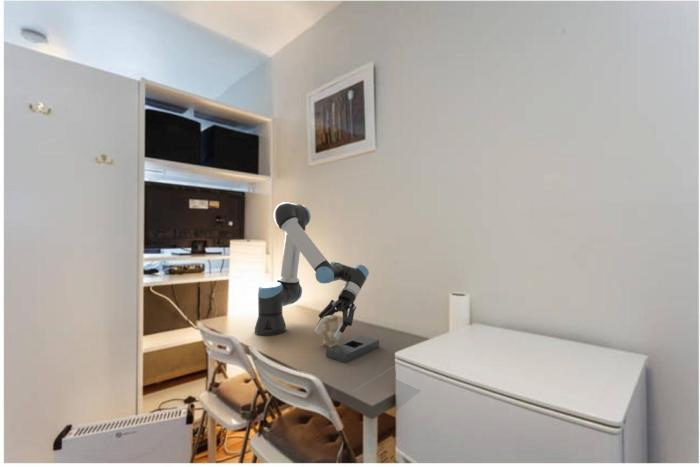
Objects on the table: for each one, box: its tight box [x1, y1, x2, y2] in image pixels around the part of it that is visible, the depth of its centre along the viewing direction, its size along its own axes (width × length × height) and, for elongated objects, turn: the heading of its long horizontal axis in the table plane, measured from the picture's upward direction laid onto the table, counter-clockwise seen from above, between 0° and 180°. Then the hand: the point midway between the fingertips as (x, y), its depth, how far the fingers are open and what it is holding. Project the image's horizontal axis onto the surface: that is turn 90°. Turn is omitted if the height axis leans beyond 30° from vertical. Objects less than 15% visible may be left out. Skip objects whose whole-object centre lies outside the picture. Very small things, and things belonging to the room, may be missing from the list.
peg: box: [322, 315, 339, 348], centre depth 137 cm, size 4×4×12 cm
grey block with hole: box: [325, 335, 380, 364], centre depth 128 cm, size 10×22×3 cm, turn 141°
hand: (325, 335), depth 135 cm, fingers open, 11 cm apart
